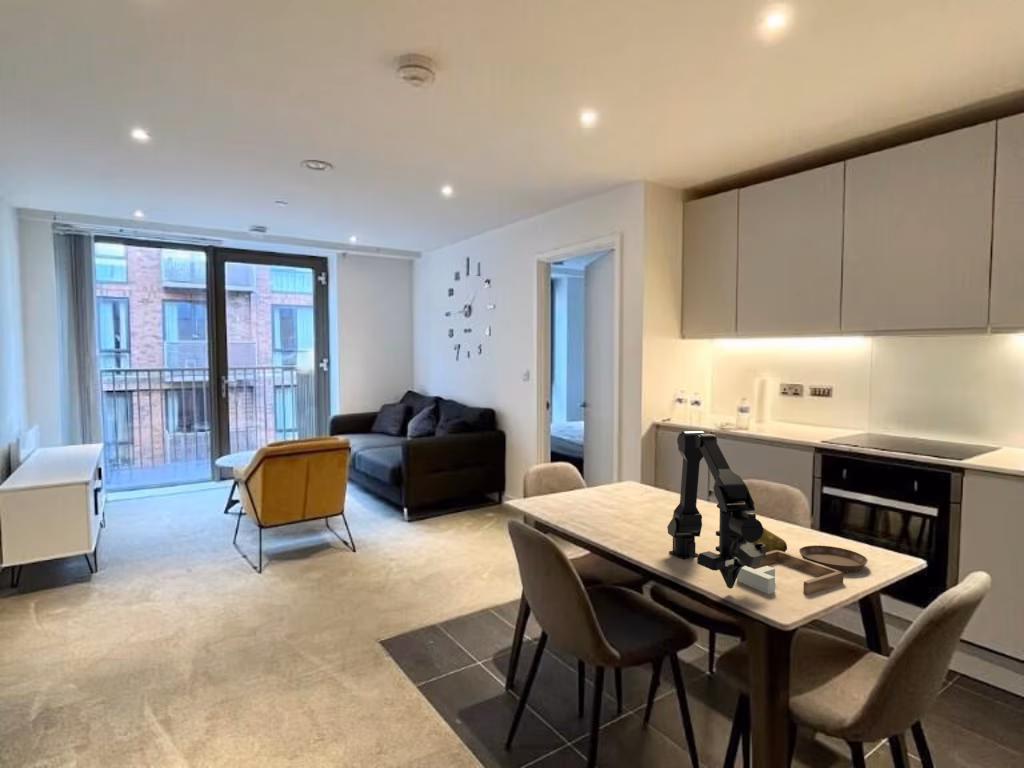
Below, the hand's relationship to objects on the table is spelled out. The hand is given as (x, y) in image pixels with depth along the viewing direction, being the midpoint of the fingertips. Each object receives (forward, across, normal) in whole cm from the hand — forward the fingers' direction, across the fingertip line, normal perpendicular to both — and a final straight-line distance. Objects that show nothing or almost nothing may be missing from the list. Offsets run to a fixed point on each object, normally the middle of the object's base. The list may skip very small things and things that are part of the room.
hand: (730, 587), depth 149 cm
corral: (+2, +24, 0) cm, 24 cm away
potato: (+2, +34, +17) cm, 39 cm away
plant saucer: (+2, +43, 0) cm, 43 cm away
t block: (+1, +12, 0) cm, 12 cm away
